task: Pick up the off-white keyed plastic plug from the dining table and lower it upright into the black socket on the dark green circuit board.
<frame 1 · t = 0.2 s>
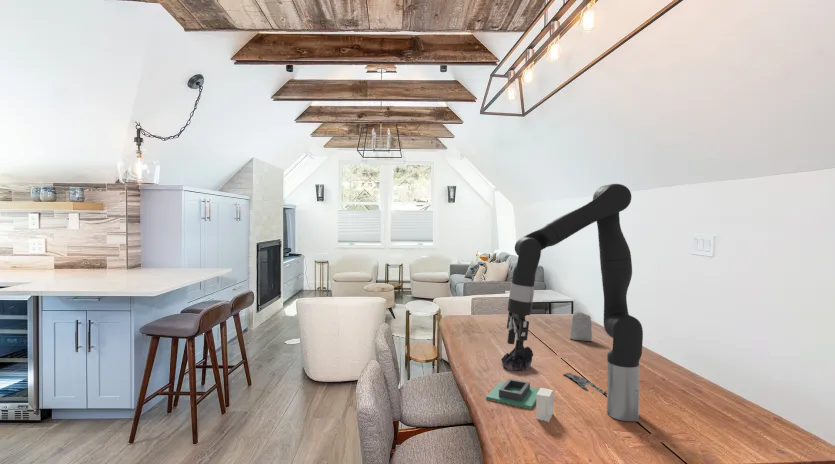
hand: (514, 347, 133), 22 cm above the table, fingers open, 8 cm apart
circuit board: (514, 395, 149), on the table
plug: (544, 416, 133), on the table
driftwood: (582, 385, 160), on the table
crystal cluster: (516, 366, 180), on the table
decorative stone: (580, 340, 219), on the table
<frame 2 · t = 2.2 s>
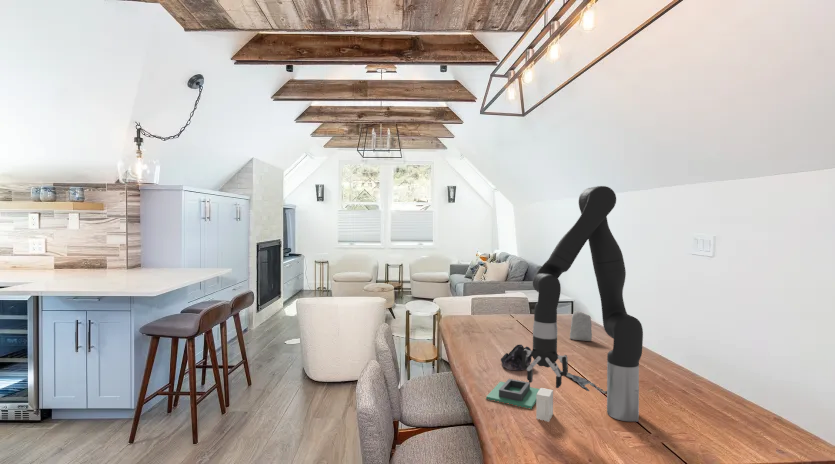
hand: (543, 384, 133), 10 cm above the table, fingers open, 8 cm apart
nothing on the table moved.
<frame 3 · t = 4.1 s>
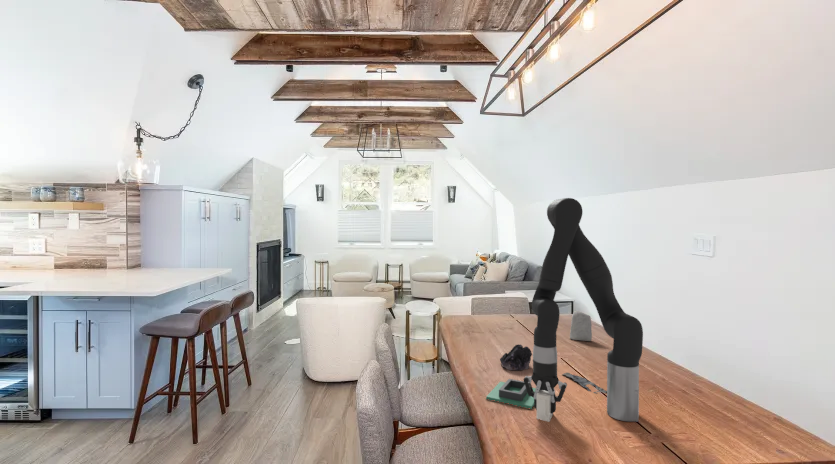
hand: (544, 410, 133), 2 cm above the table, fingers closed on plug, 4 cm apart
plug: (544, 416, 133), on the table, touching gripper
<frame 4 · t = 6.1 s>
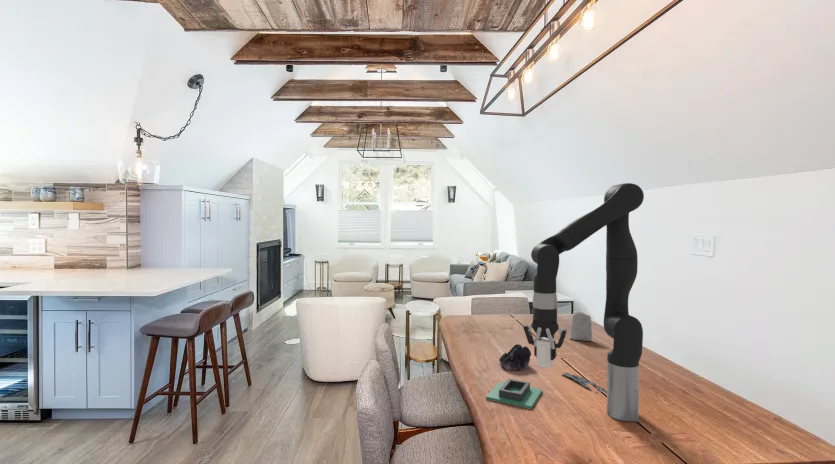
hand: (545, 358, 133), 19 cm above the table, fingers closed on plug, 4 cm apart
plug: (545, 364, 133), point 17 cm above the table, touching gripper
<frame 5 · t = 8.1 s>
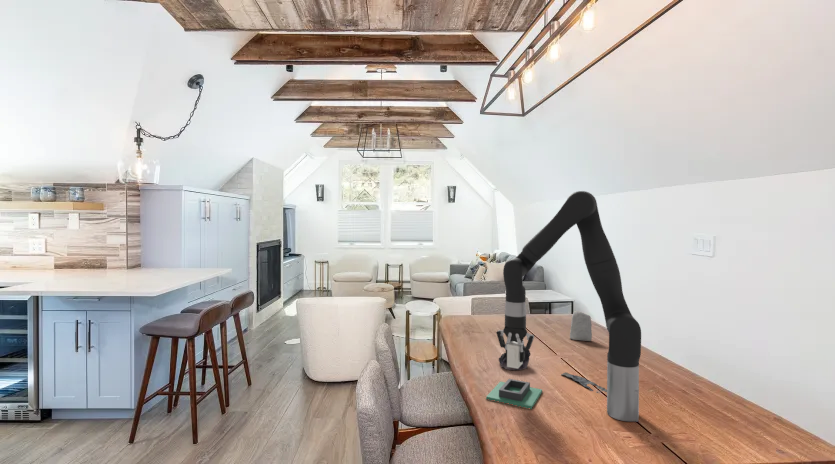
hand: (514, 360, 149), 13 cm above the table, fingers closed on plug, 4 cm apart
plug: (514, 365, 149), point 11 cm above the table, touching gripper
when the fingers open (5 cm above the table, at t = 9.9 s): plug drops 2 cm, resting on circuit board.
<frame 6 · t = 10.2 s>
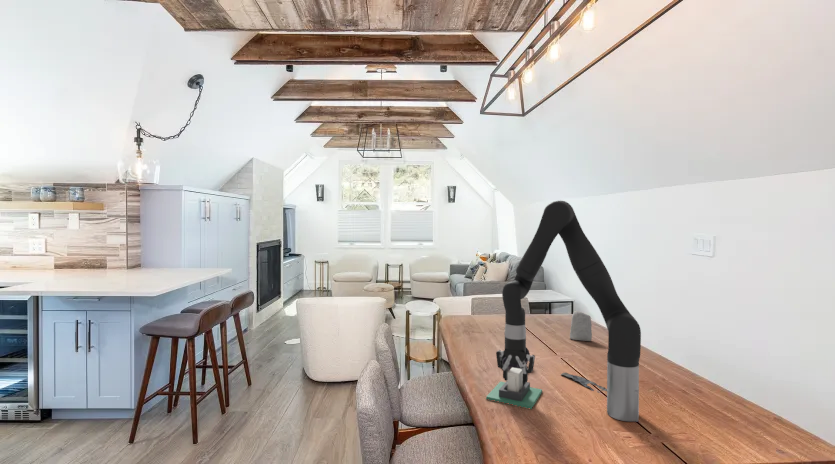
hand: (515, 381, 149), 5 cm above the table, fingers open, 6 cm apart
plug: (515, 392, 149), point 1 cm above the table, touching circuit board
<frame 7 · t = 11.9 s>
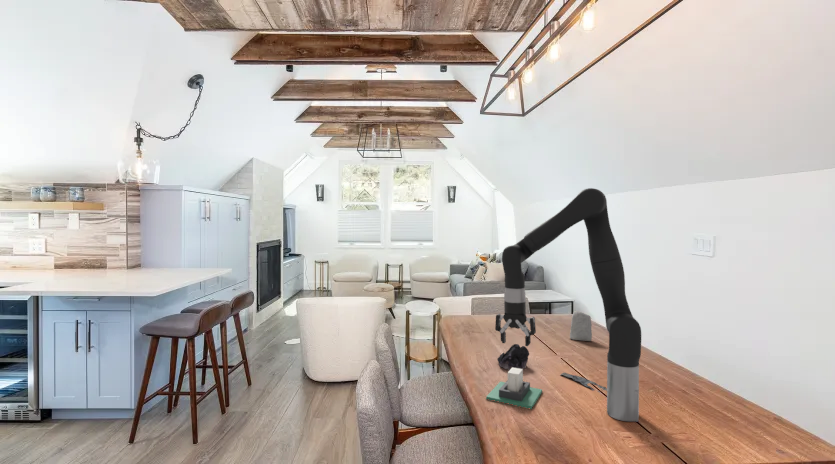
hand: (515, 344, 149), 19 cm above the table, fingers open, 8 cm apart
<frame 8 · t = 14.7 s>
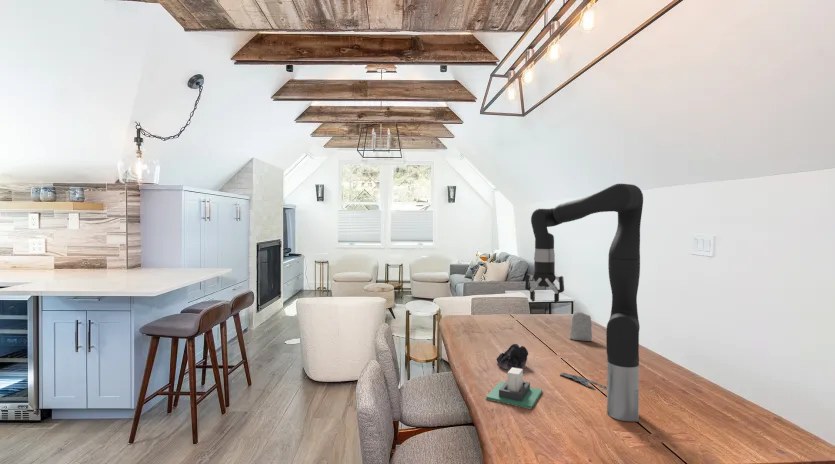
hand: (544, 302, 159), 32 cm above the table, fingers open, 8 cm apart
at the end: plug 0.1 cm off-centre on the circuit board, point 1.0 cm above the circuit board's base; plug tilted 0°; the gripper is holding nothing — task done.
